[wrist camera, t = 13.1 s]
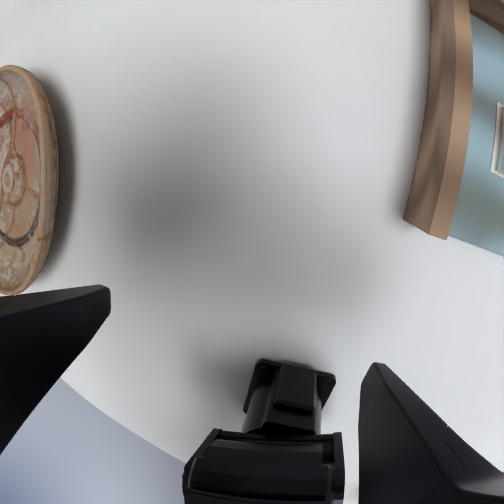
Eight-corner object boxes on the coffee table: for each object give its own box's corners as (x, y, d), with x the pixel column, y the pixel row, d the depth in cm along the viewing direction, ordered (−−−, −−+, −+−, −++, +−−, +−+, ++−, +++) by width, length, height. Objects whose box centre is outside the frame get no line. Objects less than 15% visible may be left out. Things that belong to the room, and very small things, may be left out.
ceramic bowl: (-30, 185, 25) (-55, 191, 20) (36, 39, 18) (5, 31, 13) (35, 315, 27) (8, 333, 22) (129, 169, 20) (85, 172, 15)
